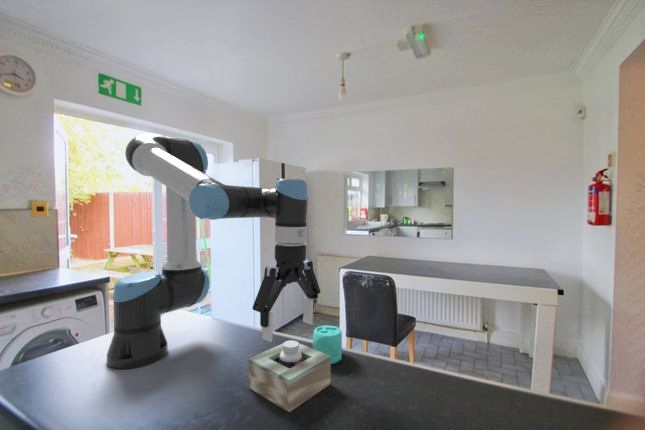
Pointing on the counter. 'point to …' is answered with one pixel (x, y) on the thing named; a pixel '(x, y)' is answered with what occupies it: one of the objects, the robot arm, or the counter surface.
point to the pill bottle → (290, 354)
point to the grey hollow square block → (289, 376)
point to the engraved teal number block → (328, 342)
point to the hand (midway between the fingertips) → (288, 330)
